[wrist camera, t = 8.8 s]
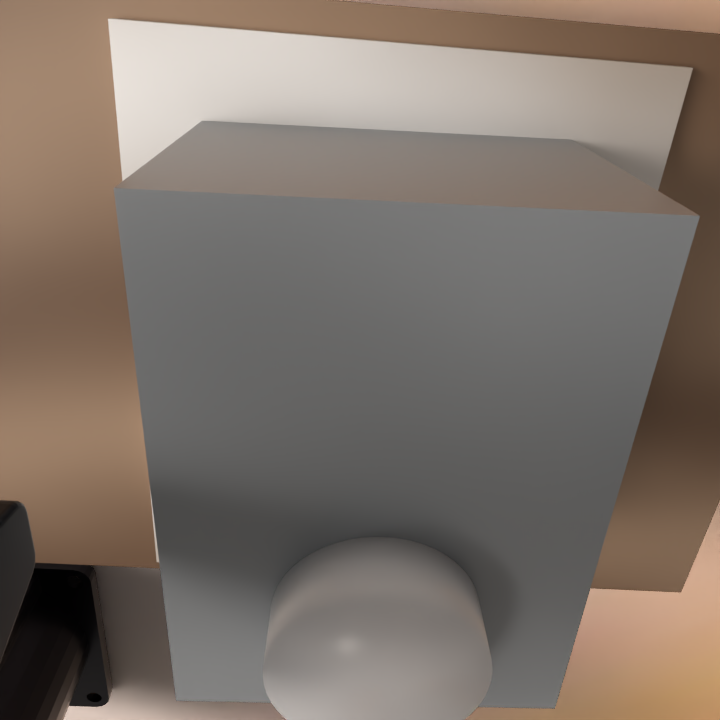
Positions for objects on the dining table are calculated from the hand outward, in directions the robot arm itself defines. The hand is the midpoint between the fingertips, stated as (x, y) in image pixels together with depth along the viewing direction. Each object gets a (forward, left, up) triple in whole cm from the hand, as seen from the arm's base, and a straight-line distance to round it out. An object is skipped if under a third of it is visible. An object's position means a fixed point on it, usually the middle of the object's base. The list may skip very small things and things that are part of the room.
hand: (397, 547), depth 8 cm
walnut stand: (0, 0, -9) cm, 9 cm away
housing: (0, 0, -5) cm, 5 cm away
